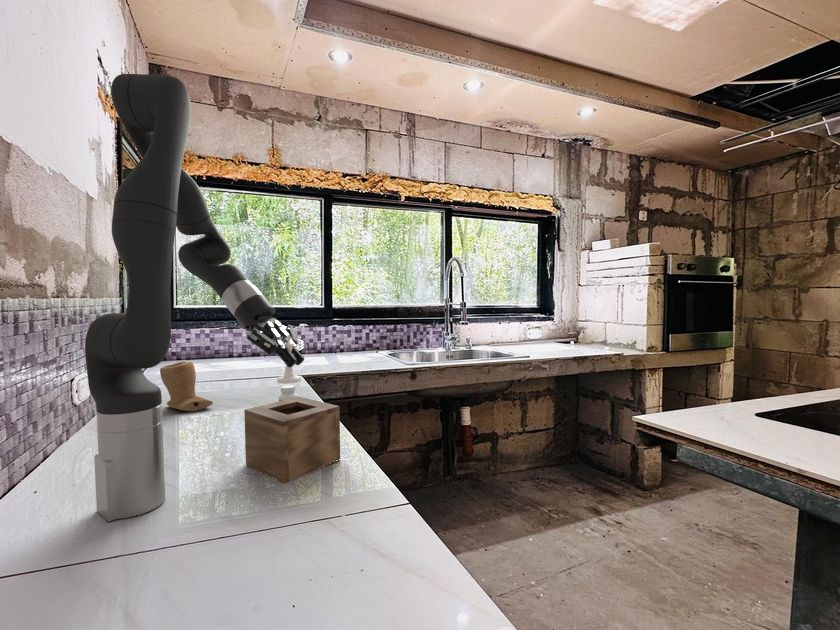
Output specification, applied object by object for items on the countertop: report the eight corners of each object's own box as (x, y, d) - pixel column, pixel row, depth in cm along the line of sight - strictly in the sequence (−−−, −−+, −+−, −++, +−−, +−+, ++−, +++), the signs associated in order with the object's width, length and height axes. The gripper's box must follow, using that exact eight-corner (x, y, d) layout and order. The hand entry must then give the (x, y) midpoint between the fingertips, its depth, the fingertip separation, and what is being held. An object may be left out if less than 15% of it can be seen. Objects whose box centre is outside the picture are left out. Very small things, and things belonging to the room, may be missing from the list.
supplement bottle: (301, 417, 125) (300, 384, 125) (294, 422, 120) (293, 388, 119) (283, 416, 126) (283, 384, 125) (275, 422, 120) (275, 388, 120)
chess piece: (271, 382, 90) (271, 335, 89) (288, 378, 94) (288, 333, 94) (289, 384, 87) (288, 336, 87) (305, 380, 92) (305, 334, 91)
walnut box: (284, 483, 82) (283, 421, 81) (245, 465, 90) (244, 409, 90) (340, 460, 93) (339, 406, 92) (301, 446, 101) (300, 396, 101)
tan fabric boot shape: (156, 408, 136) (154, 361, 135) (195, 401, 145) (193, 357, 144) (173, 417, 126) (171, 367, 125) (214, 408, 135) (213, 362, 134)
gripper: (235, 293, 86) (288, 356, 82) (278, 293, 99) (325, 347, 96) (215, 318, 87) (266, 381, 84) (259, 315, 101) (305, 369, 97)
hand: (297, 363), depth 90 cm, fingers closed on chess piece
